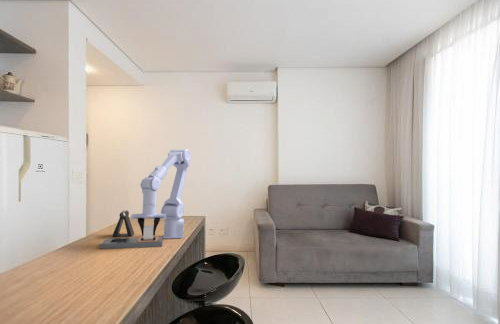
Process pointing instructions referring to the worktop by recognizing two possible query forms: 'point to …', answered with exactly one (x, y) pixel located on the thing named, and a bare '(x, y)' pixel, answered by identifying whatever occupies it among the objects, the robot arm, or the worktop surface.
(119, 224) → the phone stand
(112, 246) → the rail plate
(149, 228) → the block
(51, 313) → the worktop surface
